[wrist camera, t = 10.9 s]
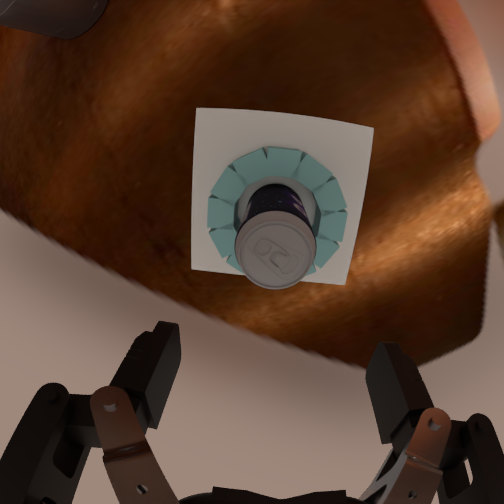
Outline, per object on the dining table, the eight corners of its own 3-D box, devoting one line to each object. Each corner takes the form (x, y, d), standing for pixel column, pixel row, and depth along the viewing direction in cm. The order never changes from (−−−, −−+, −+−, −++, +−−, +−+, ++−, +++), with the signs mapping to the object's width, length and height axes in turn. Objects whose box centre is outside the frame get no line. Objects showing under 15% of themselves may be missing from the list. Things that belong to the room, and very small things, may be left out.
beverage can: (281, 244, 31) (283, 308, 20) (237, 215, 30) (215, 265, 19) (313, 203, 29) (336, 248, 18) (268, 171, 28) (265, 196, 17)
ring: (212, 259, 33) (206, 274, 29) (218, 142, 27) (210, 143, 24) (327, 271, 32) (332, 287, 29) (347, 156, 27) (356, 159, 24)
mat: (193, 266, 34) (191, 269, 33) (198, 108, 27) (196, 108, 26) (343, 281, 33) (344, 285, 33) (371, 128, 26) (373, 128, 25)
